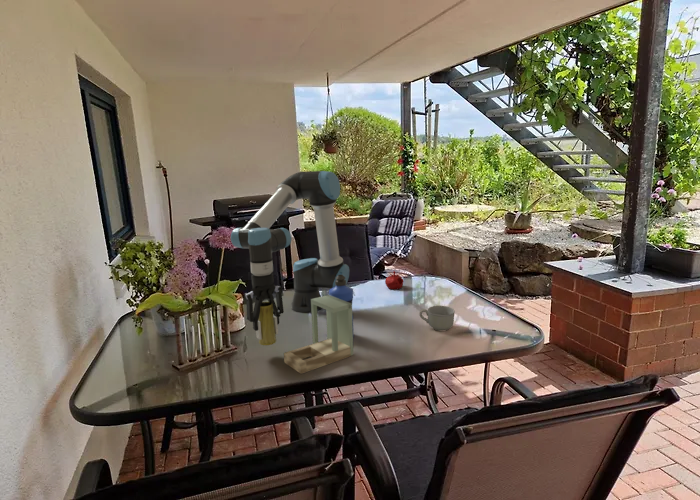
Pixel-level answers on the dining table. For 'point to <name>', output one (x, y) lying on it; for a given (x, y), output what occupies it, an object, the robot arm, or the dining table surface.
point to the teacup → (439, 317)
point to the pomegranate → (394, 281)
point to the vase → (267, 324)
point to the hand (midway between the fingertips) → (267, 335)
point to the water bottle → (342, 291)
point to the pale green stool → (334, 320)
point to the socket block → (316, 355)
